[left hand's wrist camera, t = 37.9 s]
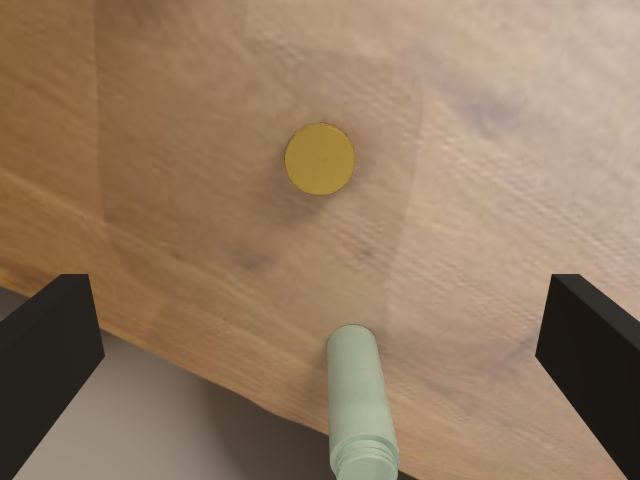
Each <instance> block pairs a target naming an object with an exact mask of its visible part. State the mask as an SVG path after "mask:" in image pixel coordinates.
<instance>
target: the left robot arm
mask: <svg viewBox="0 0 640 480" xmlns="http://www.w3.org/2000/svg"><path fill="white" fill-rule="evenodd" d="M104 357H105V354H104V349H103V344H102V339H101V334H100V329H99V324H98V320H97V315H96V310H95V305H94V300H93V295H92V291H91V286H90V281H89V276H88V274H61V275H59V276H58V277H57V278H56V279H54V280H53V281H52V282H50V283H49V284H48V285H47V286H45V287H44V288H43V289H42V290H40V291H39V292H38V293H37V294H35V295H34V296H33V297H31V298H30V299H29V300H28V301H26V302H25V303H24V304H23V305H21V306H20V307H19V308H18V309H16V310H15V311H14V312H12V313H11V314H10V315H9V316H7V317H6V318H5V319H4V320H2V321H1V322H0V480H12V479H13V478H14V476H15V475H16V474H17V472H18V471H19V470H20V468H21V467H22V466H23V464H24V463H25V462H26V460H27V459H28V458H29V456H30V455H31V454H32V453H33V451H34V450H35V448H36V447H37V446H38V445H39V443H40V442H41V440H42V439H43V438H44V436H45V435H46V434H47V433H48V431H49V430H50V429H51V427H52V426H53V425H54V423H55V422H56V420H57V419H58V418H59V417H60V415H61V414H62V413H63V411H64V410H65V409H66V407H67V406H68V405H69V403H70V402H71V401H72V399H73V398H74V397H75V395H76V394H77V393H78V391H79V390H80V389H81V387H82V386H83V385H84V383H85V382H86V381H87V379H88V378H89V377H90V375H91V374H92V373H93V371H94V370H95V369H96V367H97V366H98V365H99V363H100V362H101V361H102V359H103V358H104ZM535 357H536V358H537V359H538V361H539V362H540V363H541V365H542V366H543V367H544V369H545V370H546V371H547V373H548V374H549V375H550V377H551V378H552V379H553V381H554V382H555V383H556V385H557V386H558V387H559V389H560V390H561V391H562V393H563V394H564V395H565V397H566V398H567V399H568V401H569V402H570V403H571V405H572V406H573V407H574V409H575V410H576V411H577V413H578V414H579V415H580V417H581V418H582V419H583V421H584V422H585V423H586V425H587V426H588V427H589V429H590V430H591V431H592V433H593V434H594V435H595V437H596V438H597V439H598V441H599V442H600V443H601V445H602V446H603V447H604V449H605V450H606V451H607V453H608V454H609V455H610V457H611V458H612V459H613V461H614V462H615V463H616V464H617V466H618V467H619V468H620V470H621V471H622V472H623V474H624V475H625V476H626V478H627V479H628V480H640V322H639V321H638V320H636V319H635V318H634V317H633V316H631V315H630V314H629V313H628V312H626V311H625V310H624V309H622V308H621V307H620V306H619V305H617V304H616V303H615V302H614V301H612V300H611V299H610V298H609V297H607V296H606V295H605V294H603V293H602V292H601V291H600V290H598V289H597V288H596V287H595V286H593V285H592V284H591V283H590V282H588V281H587V280H586V279H584V278H583V277H582V276H581V275H579V274H552V276H551V281H550V286H549V291H548V295H547V300H546V305H545V310H544V315H543V320H542V324H541V329H540V334H539V339H538V344H537V349H536V354H535Z"/></svg>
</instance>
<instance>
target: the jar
mask: <svg viewBox="0 0 640 480" xmlns="http://www.w3.org/2000/svg"><path fill="white" fill-rule="evenodd" d="M327 362H328V401H329V440H330V465H331V468H332V470H333V472H334V474H335V475H336V478H337V480H397V475H398V471H397V468H398V466H399V462H400V455H399V450H398V445H397V440H396V436H395V431H394V426H393V421H392V416H391V411H390V406H389V402H388V397H387V392H386V387H385V382H384V377H383V373H382V368H381V363H380V358H379V353H378V348H377V343H376V340H375V337H374V335H373V334H372V333H371V332H370V331H369V330H368V329H366V328H364V327H362V326H358V325H346V326H343V327H340V328H338V329H337V330H335V331H334V332H333V333H332V334H331V336H330V337H329V340H328V343H327Z"/></svg>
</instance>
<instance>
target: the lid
mask: <svg viewBox="0 0 640 480" xmlns="http://www.w3.org/2000/svg"><path fill="white" fill-rule="evenodd" d="M287 146H288V147H287V150H286V155H285V158H284V160H285V167H286V171H287V173H288V176H289V177H290V179H291V181H292V182H293V183H294V184H295V185H296V186H297V187H298V188H299V189H301V190H302V191H304V192H306V193H309V194H313V195H327V194H331V193H333V192H335V191H337V190H339V189H340V188H342V187H343V186H344V185H345V184H346V183H347V182H348V180H349V179H350V177H351V175H352V173H353V170H354V164H355V157H354V151H353V149H354V148H353V146H352V145H351V143H350V141H349V140H348V138H347V136H346V134H344V133H343V132H342V131H341V130H339V129H338V128H336V127H335V126H332V125H329V124H324V123H322V122H321V123H317V124H311V125H307V126H306V127H304V128H302V129H301V130H299V131H298V132H296V133H295V135H294V136H293V137H292V139H291V141H290V143H288V145H287Z"/></svg>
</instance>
